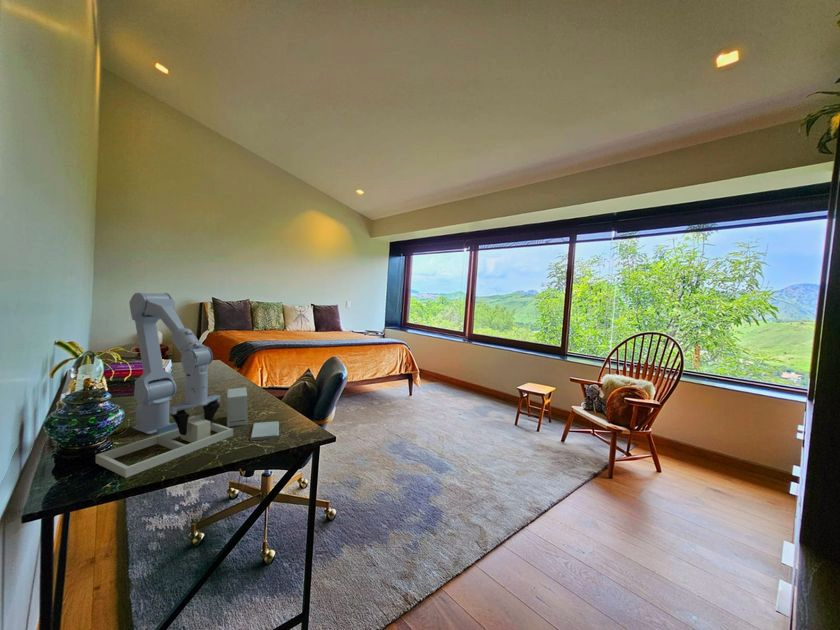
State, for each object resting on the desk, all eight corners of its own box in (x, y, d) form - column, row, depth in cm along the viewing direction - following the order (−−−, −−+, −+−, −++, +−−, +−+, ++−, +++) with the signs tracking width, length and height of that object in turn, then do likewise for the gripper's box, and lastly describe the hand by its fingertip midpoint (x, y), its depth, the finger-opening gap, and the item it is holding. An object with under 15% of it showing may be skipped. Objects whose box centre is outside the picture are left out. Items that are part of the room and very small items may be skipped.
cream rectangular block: (180, 438, 106) (180, 419, 106) (193, 434, 110) (193, 416, 110) (197, 445, 103) (197, 425, 103) (210, 440, 107) (210, 421, 106)
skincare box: (226, 416, 126) (227, 388, 125) (246, 414, 129) (246, 387, 128) (226, 427, 117) (226, 396, 116) (247, 424, 120) (248, 395, 119)
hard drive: (278, 435, 111) (279, 420, 122) (250, 437, 108) (253, 422, 119) (278, 440, 111) (278, 425, 122) (250, 442, 108) (253, 427, 119)
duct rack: (93, 461, 90) (93, 447, 90) (202, 425, 117) (202, 414, 116) (125, 477, 84) (125, 462, 84) (233, 435, 111) (233, 423, 110)
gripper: (180, 395, 97) (179, 441, 98) (227, 383, 111) (226, 425, 111) (164, 390, 100) (164, 436, 101) (212, 380, 113) (211, 420, 114)
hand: (195, 430), depth 106 cm, fingers open, 7 cm apart
